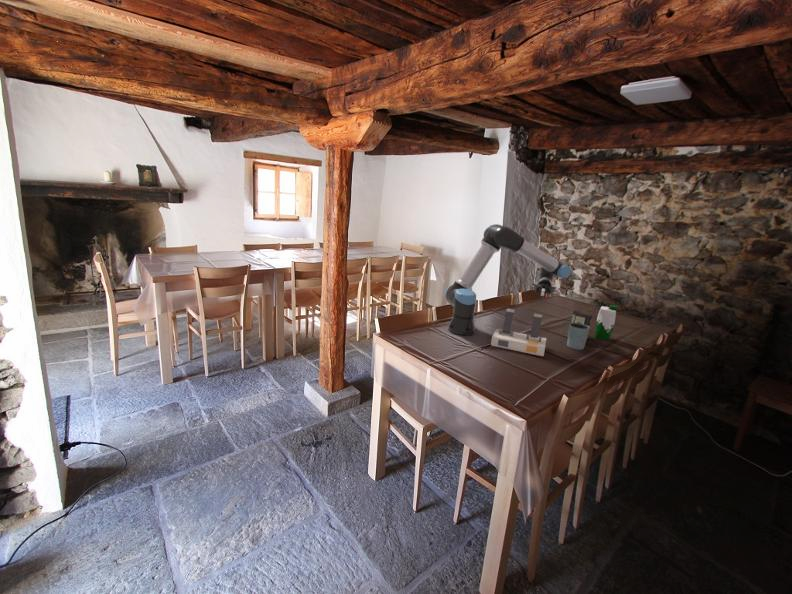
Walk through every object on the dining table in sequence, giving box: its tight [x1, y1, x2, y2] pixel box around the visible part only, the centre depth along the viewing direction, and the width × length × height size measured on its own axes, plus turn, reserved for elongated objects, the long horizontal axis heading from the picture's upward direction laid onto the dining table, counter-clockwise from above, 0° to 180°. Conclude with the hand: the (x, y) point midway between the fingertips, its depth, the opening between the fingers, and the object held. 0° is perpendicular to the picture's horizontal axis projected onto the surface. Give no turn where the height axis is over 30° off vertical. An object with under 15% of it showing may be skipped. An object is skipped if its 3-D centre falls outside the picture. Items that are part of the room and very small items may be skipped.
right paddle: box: [529, 313, 543, 338], centre depth 200 cm, size 4×2×13 cm, turn 67°
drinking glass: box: [566, 322, 591, 351], centre depth 206 cm, size 10×10×12 cm
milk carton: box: [594, 304, 618, 342], centre depth 222 cm, size 9×9×20 cm
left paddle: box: [502, 308, 515, 333], centre depth 204 cm, size 4×2×13 cm, turn 67°
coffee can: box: [570, 310, 593, 339], centre depth 223 cm, size 10×10×14 cm
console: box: [490, 328, 547, 357], centre depth 201 cm, size 26×14×7 cm, turn 67°
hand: (542, 293), depth 205 cm, fingers closed
